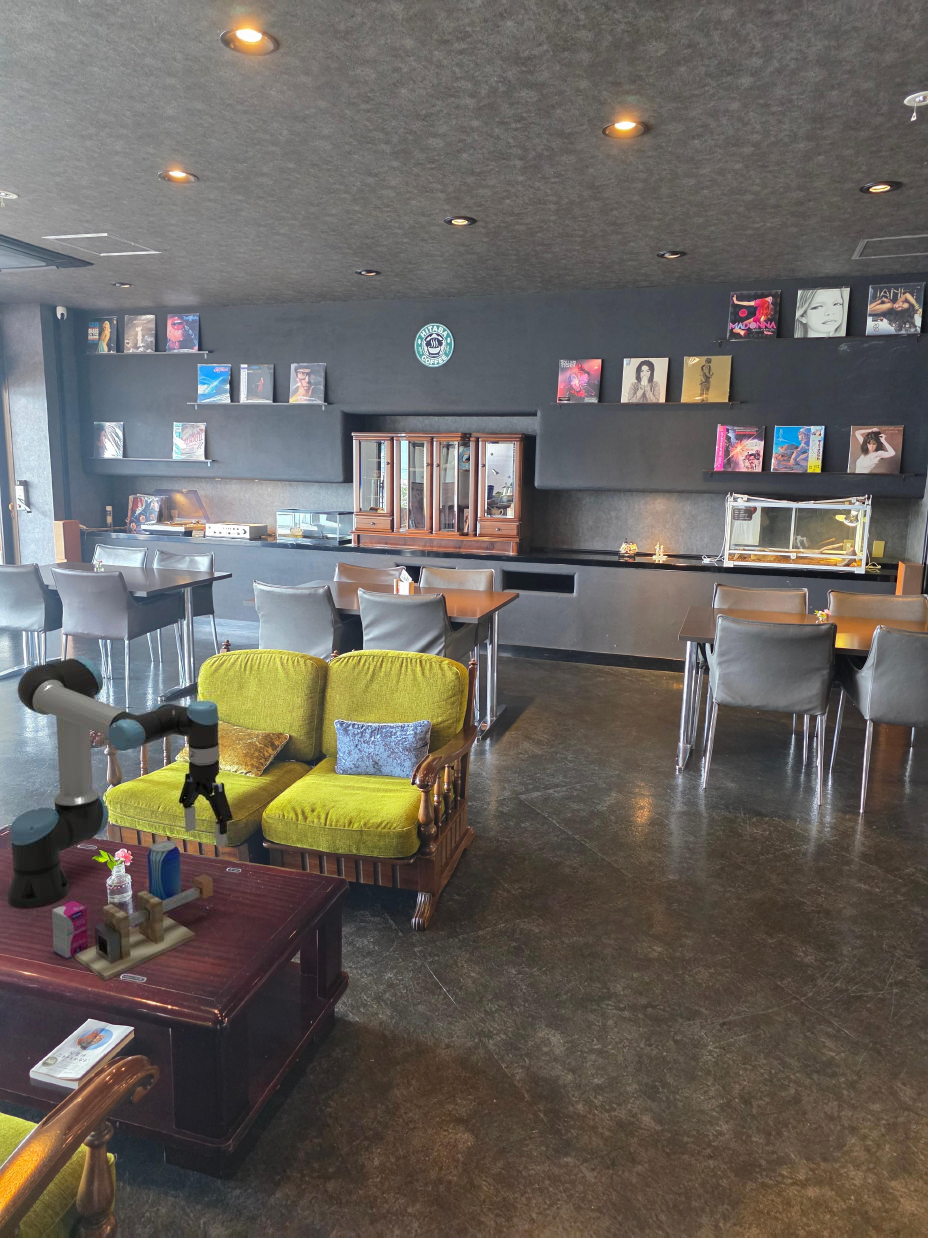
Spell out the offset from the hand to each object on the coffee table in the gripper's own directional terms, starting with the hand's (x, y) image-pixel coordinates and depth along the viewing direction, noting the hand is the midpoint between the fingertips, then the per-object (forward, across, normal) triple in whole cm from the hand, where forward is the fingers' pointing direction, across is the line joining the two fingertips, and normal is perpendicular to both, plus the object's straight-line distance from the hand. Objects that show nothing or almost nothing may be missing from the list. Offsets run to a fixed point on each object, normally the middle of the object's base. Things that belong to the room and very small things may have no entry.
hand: (205, 837), depth 216 cm
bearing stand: (+22, 0, -21) cm, 30 cm away
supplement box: (+22, -11, -32) cm, 40 cm away
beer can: (+22, -16, -3) cm, 27 cm away
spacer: (+21, 0, -28) cm, 35 cm away
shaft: (+16, 0, -11) cm, 19 cm away
